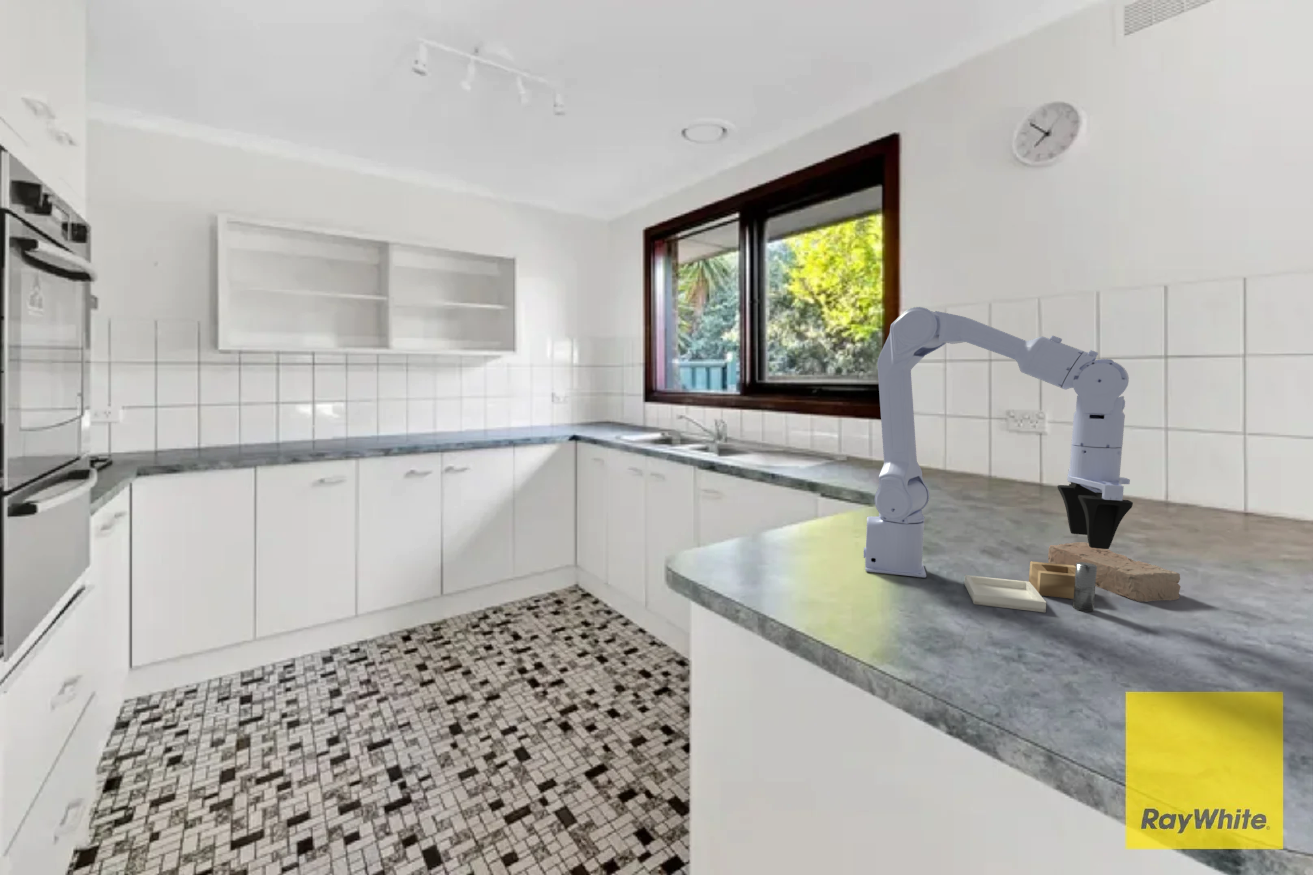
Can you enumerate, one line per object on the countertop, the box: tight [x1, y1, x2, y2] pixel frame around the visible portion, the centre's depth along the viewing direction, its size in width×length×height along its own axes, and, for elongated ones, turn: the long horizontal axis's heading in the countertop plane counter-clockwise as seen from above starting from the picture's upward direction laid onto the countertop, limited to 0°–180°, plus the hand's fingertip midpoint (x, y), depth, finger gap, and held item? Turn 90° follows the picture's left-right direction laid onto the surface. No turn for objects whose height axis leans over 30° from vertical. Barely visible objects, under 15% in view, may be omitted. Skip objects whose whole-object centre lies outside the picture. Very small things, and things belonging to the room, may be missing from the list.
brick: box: [1047, 541, 1181, 602], centre depth 95 cm, size 17×8×5 cm, turn 10°
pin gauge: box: [1072, 562, 1097, 613], centre depth 84 cm, size 2×2×6 cm
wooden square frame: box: [1028, 561, 1076, 600], centre depth 91 cm, size 6×6×4 cm
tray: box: [963, 574, 1047, 613], centre depth 88 cm, size 9×9×2 cm
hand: (1088, 540), depth 83 cm, fingers open, 7 cm apart
